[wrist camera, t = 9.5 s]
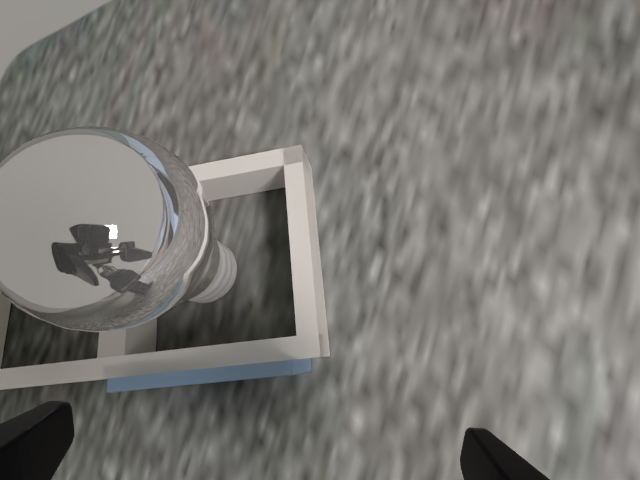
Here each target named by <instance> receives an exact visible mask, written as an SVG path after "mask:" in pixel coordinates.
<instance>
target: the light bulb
mask: <svg viewBox="0 0 640 480" xmlns="http://www.w3.org/2000/svg"><path fill="white" fill-rule="evenodd" d="M236 275H237V262H236V259H235V256H234V254H233V253H232V251H231V250H230V249H229V248H228V247H226V246H225V245H223V244H222V243H220V242H219V241H217V240H216V238H215V237H214V219H213V213H212V210H211V206H210V203H209V200H208V198H207V195H206V193H205V191H204V189H203V187H202V185H201V184H200V182H199V180H198V178H197V177H196V176H195V175H194V174H193V172H192V171H191V170H190V169H189V168H188V167H187V166H186V165H185V164H184V162H183V161H182V160H181V159H180V158H179V157H178V156H176V155H175V154H173V153H172V152H170V151H169V150H167V149H166V148H164V147H163V146H161V145H160V144H158V143H156V142H155V141H153V140H151V139H148V138H146V137H143V136H140V135H138V134H135V133H132V132H129V131H126V130H123V129H115V128H107V127H97V126H85V127H75V128H68V129H60V130H56V131H53V132H50V133H46V134H44V135H42V136H40V137H38V138H35V139H33V140H31V141H29V142H27V143H25V144H23V145H21V146H20V147H18V148H17V149H15V150H14V151H12V152H11V153H10V154H9V155H7V156H6V157H5V158H4V159H3V160H2V161H1V162H0V292H1V293H2V294H3V295H4V296H5V297H6V298H7V299H8V300H9V301H11V302H12V303H13V304H14V305H15V306H16V307H17V308H19V309H20V310H22V311H24V312H26V313H27V314H29V315H31V316H33V317H35V318H37V319H39V320H41V321H43V322H45V323H47V324H50V325H53V326H57V327H61V328H65V329H70V330H75V331H80V332H114V331H120V330H125V329H130V328H134V327H137V326H140V325H143V324H145V323H148V322H150V321H152V320H155V319H157V318H159V317H162V316H163V315H164V314H166V313H167V312H169V311H170V310H172V309H173V308H175V307H176V306H177V305H179V304H180V303H181V302H182V301H186V300H189V301H193V302H197V303H209V302H213V301H216V300H218V299H220V298H221V297H223V296H224V295H225V294H227V292H228V291H229V290H230V289H231V287H232V286H233V284H234V282H235V279H236Z"/></svg>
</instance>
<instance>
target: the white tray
mask: <svg viewBox="0 0 640 480" xmlns="http://www.w3.org/2000/svg"><path fill="white" fill-rule="evenodd" d="M188 168H189V169H190V170H191V171H192V172H193V174H194V175H195V176H196V177H197V178H198V180H199V182H200V184H201V185H202V187H203V189H204V191H205V193H206V195H207V198H208V200H209V201H212V200H217V199H223V198H229V197H234V196H240V195H246V194H251V193H257V192H262V191H268V190H274V189H279V188H286V201H287V215H288V228H289V242H290V255H291V269H292V282H293V295H294V309H295V322H296V336H290V337H281V338H272V339H264V340H255V341H246V342H237V343H228V344H219V345H210V346H201V347H192V348H184V349H175V350H166V351H157V352H156V339H157V319H155V320H152V321H150V322H148V323H145V324H143V325H140V326H137V327H134V328H130V329H125V330H120V331H114V332H99V340H98V352H97V358H95V359H86V360H77V361H68V362H59V363H50V364H41V365H32V366H23V367H15V368H6V369H1V364H2V358H3V351H4V345H5V339H6V332H7V326H8V320H9V313H10V307H11V301H9V300H8V299H7V298H6V297H5V296H4V295H3V294H2V293H1V292H0V390H5V389H15V388H24V387H34V386H44V385H54V384H64V383H73V382H83V381H93V380H103V379H108V381H107V393H110V392H120V391H131V390H141V389H152V388H162V387H173V386H183V385H194V384H204V383H215V382H225V381H236V380H246V379H257V378H267V377H277V376H288V375H296V374H300V373H305V372H309V371H312V368H311V358H318V357H328V356H330V349H329V339H328V329H327V319H326V309H325V299H324V289H323V279H322V269H321V259H320V249H319V239H318V229H317V219H316V209H315V199H314V189H313V179H312V169H311V165H310V163H309V161H308V159H307V157H306V154H305V152H304V150H303V148H302V146H301V145H297V146H292V147H287V148H282V149H276V150H271V151H266V152H261V153H256V154H251V155H246V156H241V157H236V158H230V159H225V160H220V161H215V162H210V163H205V164H200V165H195V166H190V167H188Z"/></svg>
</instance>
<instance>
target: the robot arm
mask: <svg viewBox="0 0 640 480" xmlns="http://www.w3.org/2000/svg"><path fill="white" fill-rule="evenodd" d="M73 438H74V424H73V415H72V407H71V405H70V403H68V402H63V401H49V402H46V403H44V404H42V405H40V406H38V407H36V408H34V409H32V410H29V411H27V412H25V413H23V414H21V415H19V416H17V417H15V418H13V419H10V420H8V421H6V422H4V423H2V424H0V480H51V479H52V477H53V475H54V473H55V472H56V470H57V468H58V467H59V465H60V463H61V461H62V460H63V458H64V456H65V454H66V453H67V451H68V449H69V447H70V445H71V443H72V441H73ZM460 465H461V470H462V474H463V477H464V480H550V479H548V478H547V477H546V476H545V475H543V474H542V473H541V472H540V471H538V470H537V469H536V468H535V467H533V466H532V465H531V464H530V463H528V462H527V461H526V460H525V459H523V458H522V457H521V456H520V455H518V454H517V453H516V452H515V451H513V450H512V449H511V448H510V447H508V446H507V445H506V444H505V443H503V442H502V441H501V440H499V439H498V438H497V437H496V436H494V435H493V434H492V433H491V432H489V431H488V430H487V429H484V428H468V429H467V430H466V432H465V436H464V441H463V446H462V451H461V456H460Z"/></svg>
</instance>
